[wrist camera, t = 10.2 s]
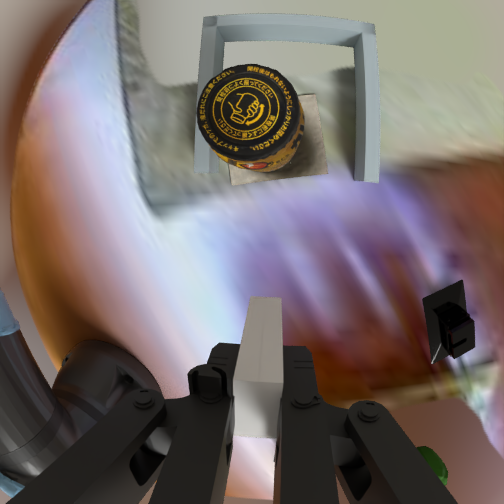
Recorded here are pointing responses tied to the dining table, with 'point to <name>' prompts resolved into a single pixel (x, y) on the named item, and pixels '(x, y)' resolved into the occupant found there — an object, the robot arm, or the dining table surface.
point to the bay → (300, 31)
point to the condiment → (261, 125)
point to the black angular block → (448, 323)
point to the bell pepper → (434, 463)
